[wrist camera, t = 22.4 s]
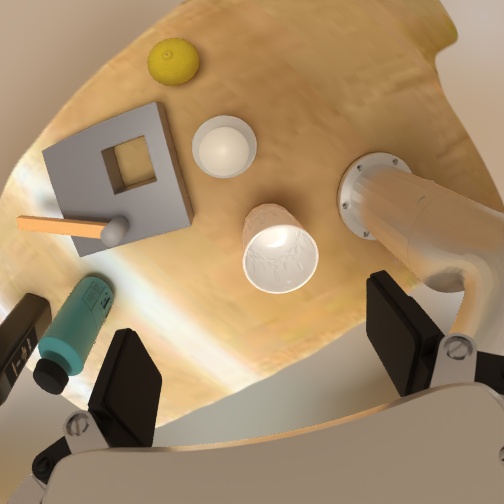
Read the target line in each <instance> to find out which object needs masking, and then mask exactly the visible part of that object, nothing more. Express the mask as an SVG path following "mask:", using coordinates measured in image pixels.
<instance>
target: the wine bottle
mask: <svg viewBox="0 0 504 504" xmlns="http://www.w3.org/2000/svg"><path fill="white" fill-rule="evenodd" d="M50 324H51V314H50V306H49V303H48V302H47V301H46V300H45V299H42V298H39V297H37V296H34V295H31V294H26V295H25V296H24V297H23V298H22V299H21V300H20V301H19V303H18V304H17V305H16V306H15V307H14V309H13V310H12V311H11V312H10V313H9V315H8V316H7V317H6V318H5V320H4V321H3V322H2V323H1V325H0V406H1V405H2V404H3V403H4V402H5V401H6V399H7V397H8V395H9V393H10V391H11V389H12V388H13V386H14V384H15V382H16V380H17V378H18V377H19V375H20V373H21V371H22V370H23V368H24V366H25V364H26V363H27V361H28V359H29V358H30V356H31V354H32V353H33V351H34V349H35V348H36V346H37V344H38V343H39V341H40V339H41V338H42V336H43V335H44V333H45V332H46V330H47V329H48V327H49V326H50Z"/></svg>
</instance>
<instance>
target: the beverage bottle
mask: <svg viewBox="0 0 504 504" xmlns="http://www.w3.org/2000/svg"><path fill="white" fill-rule="evenodd" d="M79 281H80V280H79ZM112 303H113V294H112V291H111V289H110V287H109V286H108V285H107V284H106V283H105V282H104V281H103V280H101V279H99V278H96V277H86V278H84V279H82V280H81V281H80V282H79V283H78V284H77V286H75V287H74V290H73V291H72V292H70V296H69V297H68V299H67V300H66V301H65V303H64V304H63V306H62V305H61V306H62V307H61V309H60V310H58V311H59V312H58V314H57V315H56V317H55V318H54V320H53V321H52V323H51V324H50V326H49V328H48V329H47V331H46V332H45V334H44V335H43V337H42V338H41V339H40V341H39V344H38V349H39V353H40V356H41V358H42V359H39V360H38V362H37V364H36V367H35V370H34V372H33V378H34V380H35V382H36V383H37V384H38V385H39V386H40V387H41V388H42V389H43V390H45V391H47V392H49V393H51V394H55V395H58V394H61V393H62V392H63V390H64V388H65V386H66V385H67V383H68V381H69V377H68V376H74V375H78V374H79V373H81V371H82V370H83V367H84V364H85V361H86V359H87V357H88V354H90V353H89V352H90V350H91V348H92V346H93V344H95V343H94V342H96V341H95V339H96V337H97V335H98V333H99V331H100V329H101V327H102V324H103V322H104V320H105V318H106V319H107V317H108V314H109V311H110V309H111V306H112ZM105 321H106V320H105ZM104 323H105V322H104ZM103 325H104V324H103Z"/></svg>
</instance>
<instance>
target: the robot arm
mask: <svg viewBox="0 0 504 504" xmlns="http://www.w3.org/2000/svg"><path fill="white" fill-rule="evenodd" d="M358 165H359V168H357V166H358ZM337 202H338V209H339V213H340V216H341V218H342V220H343V222H344V224H345V225H346V226H347V227H348V229H349V230H351V231H352V232H353V233H354V234H355V235H357V236H358V237H361V238H363V239H366V240H378V241H379V242H380V243H381V244H383V245H384V246H385V247H386V248H387V249H388V250H389V251H390V252H391V253H392V254H393V255H394V256H395V257H397V258H398V259H399V260H400V261H401V262H402V263H403V264H404V265H405V266H406V267H407V268H408V269H409V270H410V271H411V272H412V273H413V274H414V275H415V276H416V277H417V278H418V279H420V280H421V281H422V282H423V283H424V284H425V285H426V286H428V287H429V288H431V289H433V290H435V291H438V292H443V293H444V292H445V293H453V292H461V291H465V292H464V298H463V301H462V304H461V306H460V309H459V311H458V313H457V317H456V319H455V322H454V323H453V326H452V328H451V330H450V332H449V334H448V335H447V336H445V335H444V334H443V333H442V332H441V330H440V329H439V328H438V327H437V325H436V324H435V323H434V322H433V321H432V319H430V317H429V316H428V315H427V314H426V312H425V311H424V310H423V309H422V308H421V307H420V305H419V304H418V303H417V302H416V301H415V300H414V299H413V298H412V297H411V296H408V295H407V294H406V293H405V292H404V291H403V290H402V289H401V287H400V286H399V285H398V284H397V283H396V282H395V281H394V280H393V278H392V277H391V276H390V275H389V274H388V273H387V272H386V271H385V270H382V271H379V272H375V273H372V274H371V275H370V278H368V279H367V281H366V287H367V312H366V332H367V336H368V338H369V340H370V342H371V343H372V345H373V347H374V348H375V351H376V352H377V354H378V356H379V358H380V360H381V361H382V363H383V365H384V367H385V369H386V370H387V372H388V374H389V376H390V378H391V380H392V382H393V384H394V385H395V387H396V389H397V391H398V393H399V395H400V396H401V397H403V398H400V399H398V400H395V401H392V402H389V403H387V404H384V405H381V406H378V407H375V408H372V409H369V410H366V411H363V412H360V413H356V414H353V415H350V416H347V417H343V418H340V419H337V420H334V421H329V422H326V423H322V424H318V425H314V426H310V427H306V428H302V429H298V430H293V431H289V432H284V433H278V434H273V435H268V436H263V437H257V438H250V439H244V440H237V441H230V442H221V443H212V444H202V445H191V446H174V447H152V444H153V436H154V430H155V423H156V417H157V410H158V404H159V398H160V392H161V386H162V376H161V374H160V372H159V371H158V369H157V367H156V366H155V364H154V362H153V361H152V359H151V357H150V356H149V354H148V352H147V350H146V349H145V347H144V345H143V343H142V342H141V340H140V338H139V336H138V334H137V333H136V332H135V331H132V329H130V328H126V329H120V330H117V331H116V332H115V334H114V337H113V339H112V342H111V344H110V347H109V349H108V351H107V354H106V357H105V359H104V362H103V364H102V367H101V369H100V372H99V375H98V377H97V380H96V383H95V385H94V388H93V391H92V394H91V397H90V399H89V402H88V406H89V409H88V411H86V410H79V411H76V412H74V413H72V414H71V415H69V416H68V418H67V419H66V421H65V423H64V425H63V432H64V435H65V436H63V437H62V438H61V439H59V440H58V441H56V442H55V443H54V444H52V445H51V446H49V447H48V448H47V449H45V450H44V451H42V452H41V453H40V454H39V455H37V456H36V458H35V459H34V461H33V464H32V471H33V474H32V475H31V474H30V473H29V474H28V475H27V477H26V478H25V479H24V480H23V481H22V483H21V484H20V485H19V486H18V488H17V489H16V490H15V491H14V493H13V494H12V495H11V496H10V498H9V500H8V503H7V504H504V213H501V212H499V211H496V210H494V209H491V208H489V207H487V206H484V205H482V204H480V203H478V202H476V201H474V200H471V199H469V198H467V197H465V196H463V195H461V194H458V193H456V192H454V191H452V190H450V189H447V188H445V187H443V186H441V185H438V184H436V183H435V182H434V180H433V179H430V180H426V179H424V178H421V177H419V176H416V175H414V174H413V173H412V171H411V170H410V168H409V167H408V165H407V164H406V163H405V162H404V161H403V160H401V159H400V158H398V157H396V156H394V155H392V154H388V153H383V152H375V153H369V154H367V155H364V156H362V157H360V158H359V159H357V160H356V161H355V162H354V163H353V164H352V165H351V166H349V168H348V169H347V171H346V172H345V173H344V175H343V177H342V180H341V182H340V185H339V189H338V196H337ZM344 203H345V204H344ZM343 204H344V206H343ZM364 232H365V233H364ZM404 396H405V397H404Z"/></svg>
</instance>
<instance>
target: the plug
mask: <svg viewBox="0 0 504 504" xmlns="http://www.w3.org/2000/svg"><path fill="white" fill-rule="evenodd" d="M256 152H257V142H256V137H255V135H254V132H253V131H252V129H251V128H250V127H249V125H248V124H247V123H245V122H244V121H243V120H241V119H239V118H236V117H233V116H227V115H223V116H216V117H213V118H211V119H209V120H207V121H206V122H204V123H203V124H202V125H201V126H200V127H199V128H198V130H197V131H196V133H195V135H194V138H193V142H192V153H193V157H194V160H195V162H196V163H197V165H198V166H199V167H200V168H201V169H202V170H203V171H204V172H205V173H207V174H209V175H211V176H213V177H217V178H231V177H235V176H237V175H240V174H241V173H243V172H244V171H245V170H247V169H248V168H249V167H250V165H251V164H252V162H253V160H254V158H255V156H256Z"/></svg>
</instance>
